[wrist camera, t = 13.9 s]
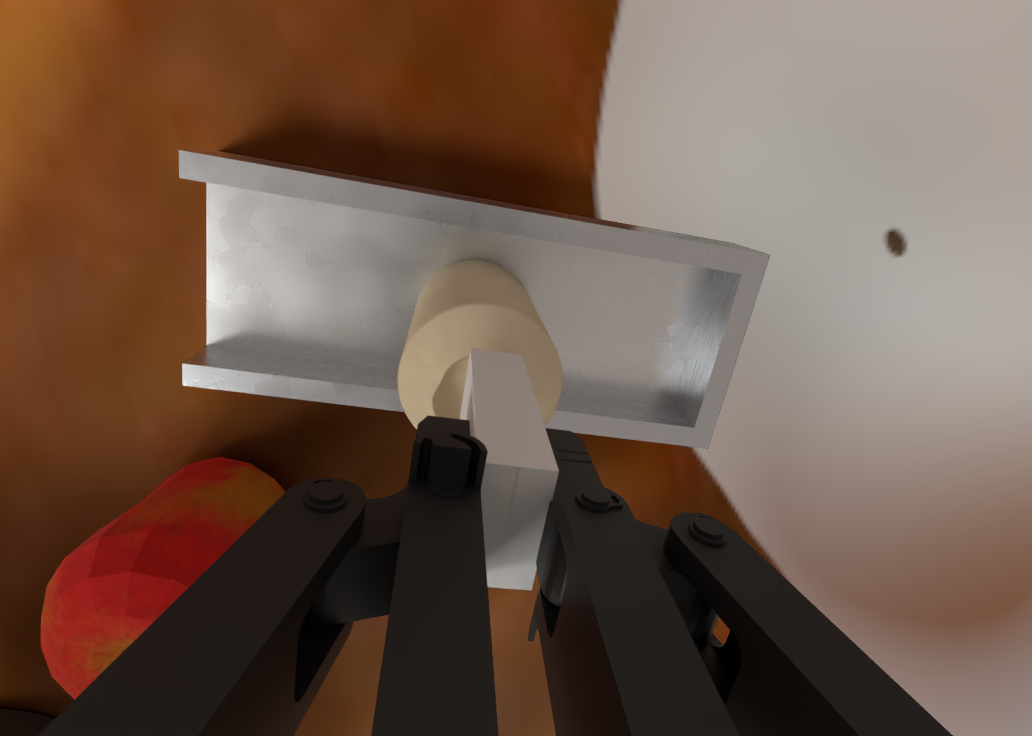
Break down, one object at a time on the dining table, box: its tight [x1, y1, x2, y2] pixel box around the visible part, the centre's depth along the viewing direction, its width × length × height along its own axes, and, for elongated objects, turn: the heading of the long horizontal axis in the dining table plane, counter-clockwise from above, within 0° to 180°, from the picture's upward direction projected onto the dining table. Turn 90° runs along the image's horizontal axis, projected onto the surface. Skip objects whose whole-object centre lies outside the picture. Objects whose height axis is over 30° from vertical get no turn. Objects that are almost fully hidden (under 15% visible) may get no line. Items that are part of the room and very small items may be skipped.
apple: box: [41, 457, 285, 699], centre depth 25 cm, size 9×8×12 cm
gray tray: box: [179, 150, 770, 449], centre depth 26 cm, size 24×10×4 cm, turn 80°
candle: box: [398, 260, 563, 429], centre depth 22 cm, size 6×6×10 cm
